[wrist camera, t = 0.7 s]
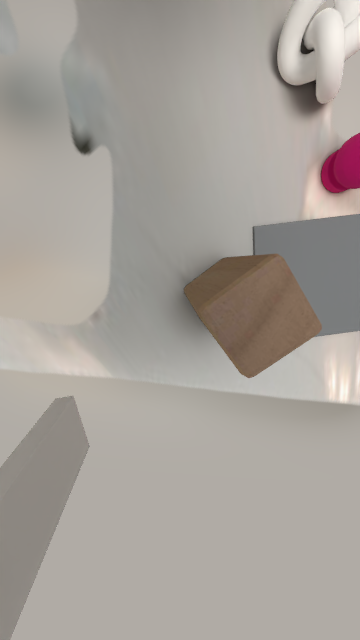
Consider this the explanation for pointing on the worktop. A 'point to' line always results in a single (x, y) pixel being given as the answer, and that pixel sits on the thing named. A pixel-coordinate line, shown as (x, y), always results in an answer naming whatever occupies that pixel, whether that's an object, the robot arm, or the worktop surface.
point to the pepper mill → (343, 167)
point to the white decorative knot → (319, 44)
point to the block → (253, 310)
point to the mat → (321, 265)
